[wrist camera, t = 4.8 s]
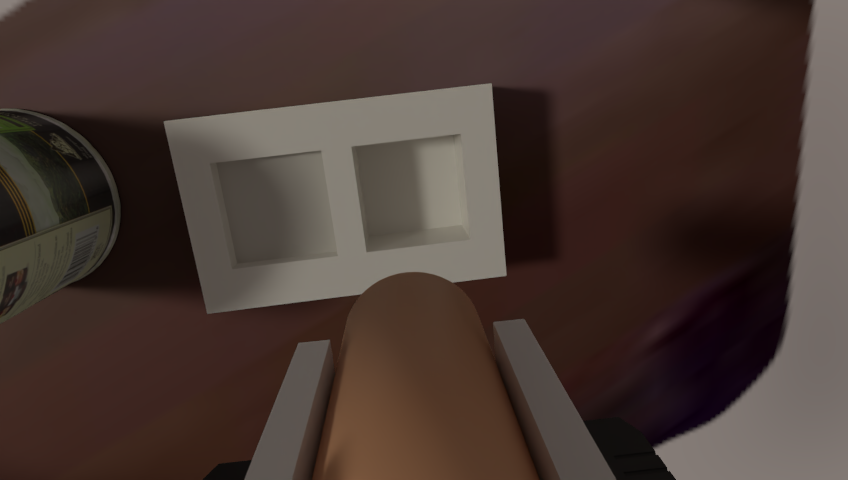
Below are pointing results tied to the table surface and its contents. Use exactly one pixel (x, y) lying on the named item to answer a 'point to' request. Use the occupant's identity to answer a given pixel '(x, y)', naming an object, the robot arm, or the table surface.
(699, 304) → the table surface
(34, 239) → the coffee can
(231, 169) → the bore block
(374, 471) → the pin
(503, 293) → the table surface
